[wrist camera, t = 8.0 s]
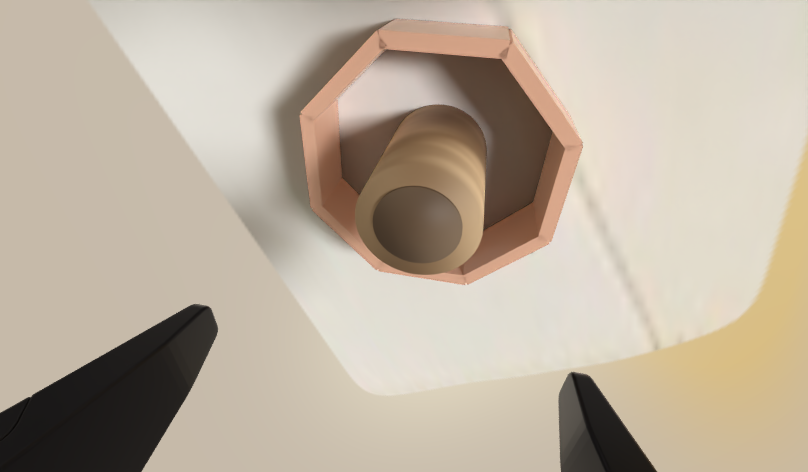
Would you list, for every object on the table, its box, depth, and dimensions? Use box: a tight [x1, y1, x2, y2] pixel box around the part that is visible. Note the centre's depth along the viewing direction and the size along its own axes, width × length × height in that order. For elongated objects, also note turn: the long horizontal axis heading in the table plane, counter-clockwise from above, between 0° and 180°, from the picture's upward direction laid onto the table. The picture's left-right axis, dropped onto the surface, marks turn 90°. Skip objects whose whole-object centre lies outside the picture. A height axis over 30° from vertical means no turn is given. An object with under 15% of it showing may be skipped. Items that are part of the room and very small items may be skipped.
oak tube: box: [355, 105, 487, 275], centre depth 16 cm, size 5×5×7 cm
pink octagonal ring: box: [300, 19, 583, 285], centre depth 18 cm, size 11×11×3 cm
